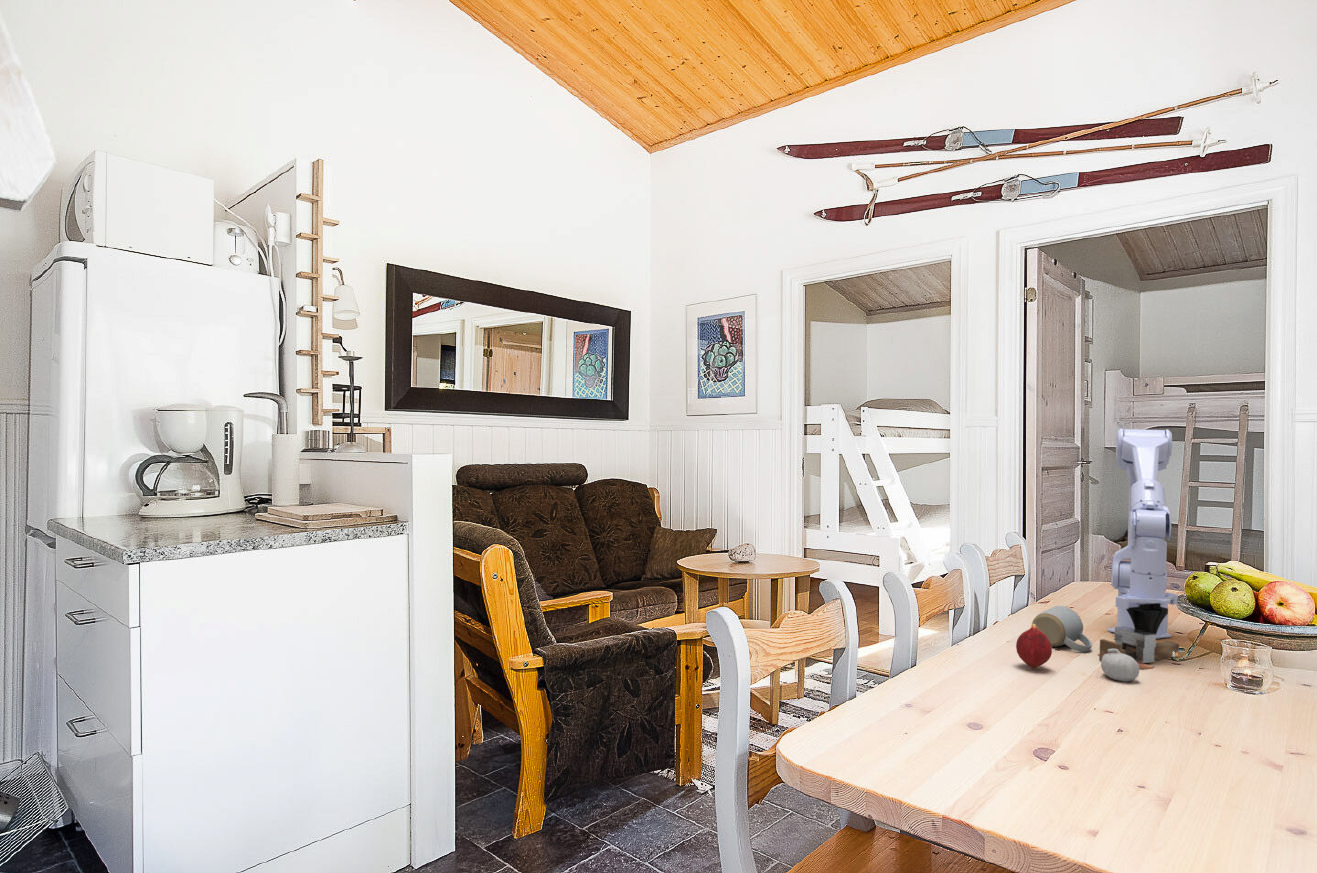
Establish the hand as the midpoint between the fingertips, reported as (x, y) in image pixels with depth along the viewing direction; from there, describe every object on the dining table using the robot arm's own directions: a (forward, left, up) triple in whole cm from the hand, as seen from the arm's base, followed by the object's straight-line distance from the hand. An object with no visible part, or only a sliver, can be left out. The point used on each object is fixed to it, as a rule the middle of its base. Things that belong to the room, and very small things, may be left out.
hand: (1145, 643), depth 145 cm
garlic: (+16, +7, -3) cm, 18 cm away
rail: (0, 0, -3) cm, 3 cm away
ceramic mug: (+8, -12, -3) cm, 14 cm away
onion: (+26, -2, -3) cm, 27 cm away
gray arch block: (+3, 0, -3) cm, 4 cm away
